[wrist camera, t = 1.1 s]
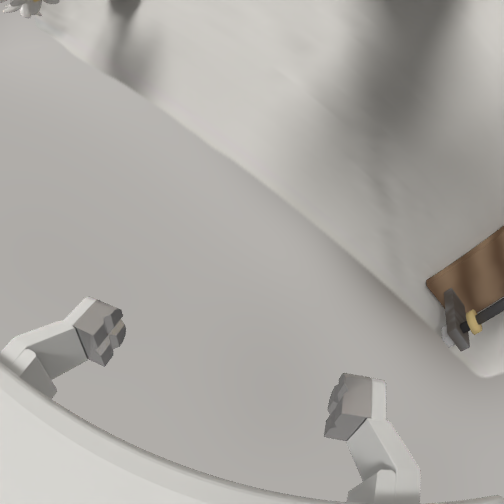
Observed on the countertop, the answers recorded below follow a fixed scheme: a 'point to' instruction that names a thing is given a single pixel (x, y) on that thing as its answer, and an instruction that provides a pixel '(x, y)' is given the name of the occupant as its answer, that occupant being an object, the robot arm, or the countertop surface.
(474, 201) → the countertop surface
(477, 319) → the dark gray rod
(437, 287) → the towel rod holder
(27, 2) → the flower vase
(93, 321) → the robot arm
